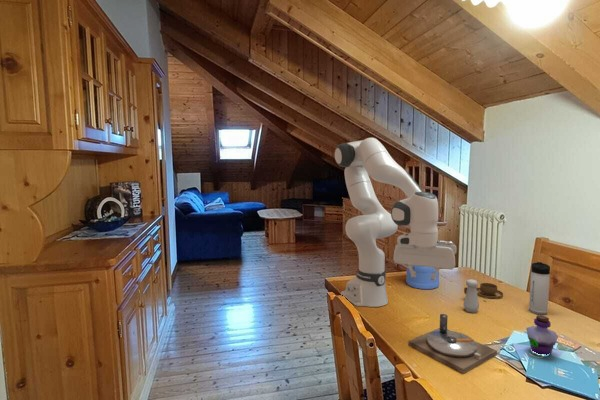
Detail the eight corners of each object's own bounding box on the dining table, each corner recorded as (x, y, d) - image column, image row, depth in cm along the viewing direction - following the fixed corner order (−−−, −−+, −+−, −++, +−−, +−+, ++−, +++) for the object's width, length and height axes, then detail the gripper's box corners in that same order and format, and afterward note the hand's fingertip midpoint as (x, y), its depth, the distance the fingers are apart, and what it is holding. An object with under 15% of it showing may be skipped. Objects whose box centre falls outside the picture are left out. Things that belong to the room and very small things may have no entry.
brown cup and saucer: (512, 303, 156) (512, 290, 155) (465, 303, 156) (465, 290, 156) (492, 288, 173) (492, 277, 172) (450, 288, 174) (450, 277, 173)
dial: (439, 358, 109) (439, 335, 108) (420, 334, 124) (420, 314, 123) (486, 356, 110) (487, 333, 109) (462, 333, 124) (462, 312, 124)
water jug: (441, 282, 182) (443, 228, 179) (435, 292, 168) (436, 233, 165) (410, 277, 190) (411, 225, 187) (402, 286, 177) (403, 230, 174)
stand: (408, 345, 120) (408, 337, 120) (441, 330, 130) (441, 323, 130) (463, 373, 104) (463, 365, 103) (496, 355, 113) (497, 347, 113)
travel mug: (545, 310, 147) (548, 262, 144) (548, 316, 141) (552, 267, 138) (527, 307, 149) (530, 261, 147) (530, 313, 143) (532, 265, 141)
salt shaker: (480, 314, 143) (481, 283, 142) (465, 313, 145) (466, 282, 143) (476, 308, 149) (477, 278, 148) (461, 307, 150) (462, 277, 149)
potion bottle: (521, 352, 115) (523, 316, 113) (528, 342, 121) (530, 308, 119) (553, 363, 108) (556, 325, 107) (559, 352, 114) (561, 316, 113)
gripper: (457, 240, 121) (456, 279, 122) (396, 235, 130) (395, 272, 131) (456, 243, 115) (455, 285, 117) (392, 238, 124) (392, 277, 126)
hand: (423, 278), depth 124 cm, fingers open, 5 cm apart
